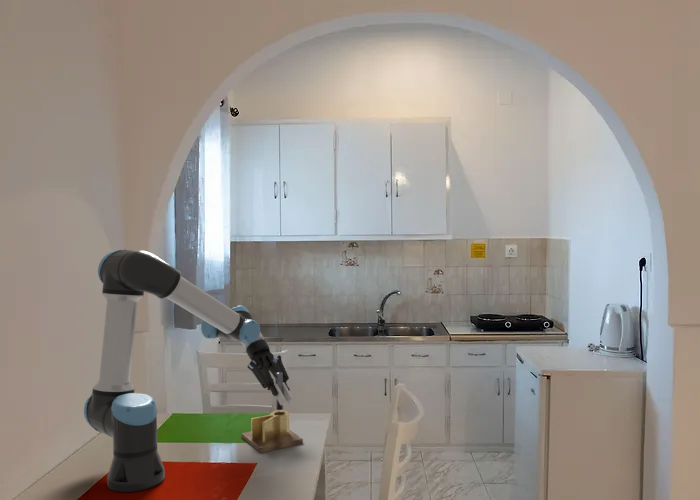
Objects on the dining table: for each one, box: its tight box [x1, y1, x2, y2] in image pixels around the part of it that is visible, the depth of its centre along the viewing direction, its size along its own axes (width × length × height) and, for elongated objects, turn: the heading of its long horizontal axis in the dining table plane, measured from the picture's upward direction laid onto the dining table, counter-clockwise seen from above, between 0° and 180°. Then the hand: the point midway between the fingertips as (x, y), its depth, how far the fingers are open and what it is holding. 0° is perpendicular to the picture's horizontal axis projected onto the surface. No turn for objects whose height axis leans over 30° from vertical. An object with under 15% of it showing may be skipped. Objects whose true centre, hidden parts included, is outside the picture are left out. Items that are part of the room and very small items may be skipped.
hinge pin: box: [274, 372, 284, 411], centre depth 198 cm, size 2×2×12 cm
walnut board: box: [240, 429, 304, 454], centre depth 198 cm, size 15×16×2 cm
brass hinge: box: [250, 410, 290, 444], centre depth 196 cm, size 13×9×7 cm
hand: (287, 401), depth 196 cm, fingers closed on hinge pin, 2 cm apart
